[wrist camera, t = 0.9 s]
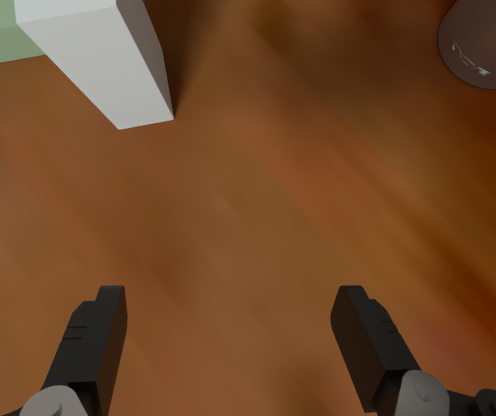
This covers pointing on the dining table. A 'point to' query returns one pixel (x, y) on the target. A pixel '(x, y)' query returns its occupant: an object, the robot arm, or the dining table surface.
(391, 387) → the robot arm
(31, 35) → the tall white pillar block
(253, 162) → the dining table surface
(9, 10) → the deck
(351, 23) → the dining table surface
